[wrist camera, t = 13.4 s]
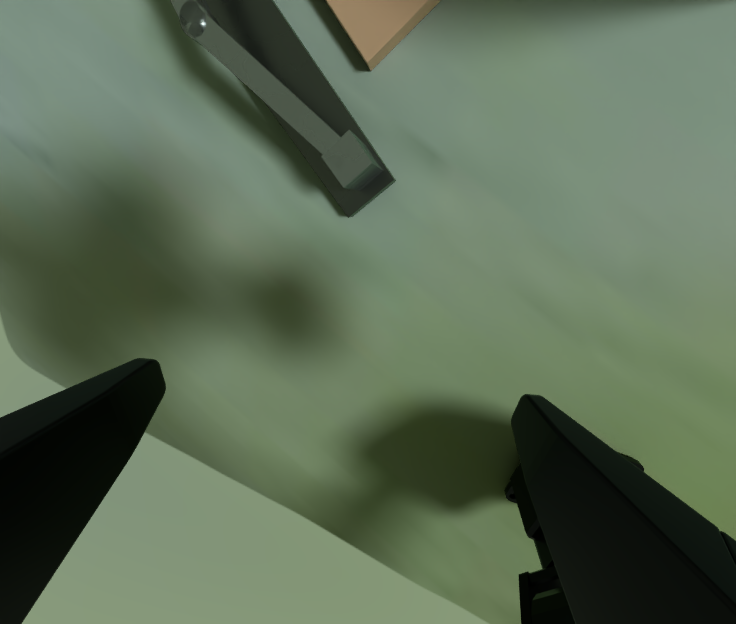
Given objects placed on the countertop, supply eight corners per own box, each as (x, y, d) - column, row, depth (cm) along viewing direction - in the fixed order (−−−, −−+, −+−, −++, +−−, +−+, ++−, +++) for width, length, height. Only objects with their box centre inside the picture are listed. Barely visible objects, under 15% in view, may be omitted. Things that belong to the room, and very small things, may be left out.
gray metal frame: (396, 180, 17) (385, 173, 13) (349, 218, 18) (326, 223, 14) (155, -173, 14) (41, -330, 10) (118, -100, 15) (2, -213, 11)
